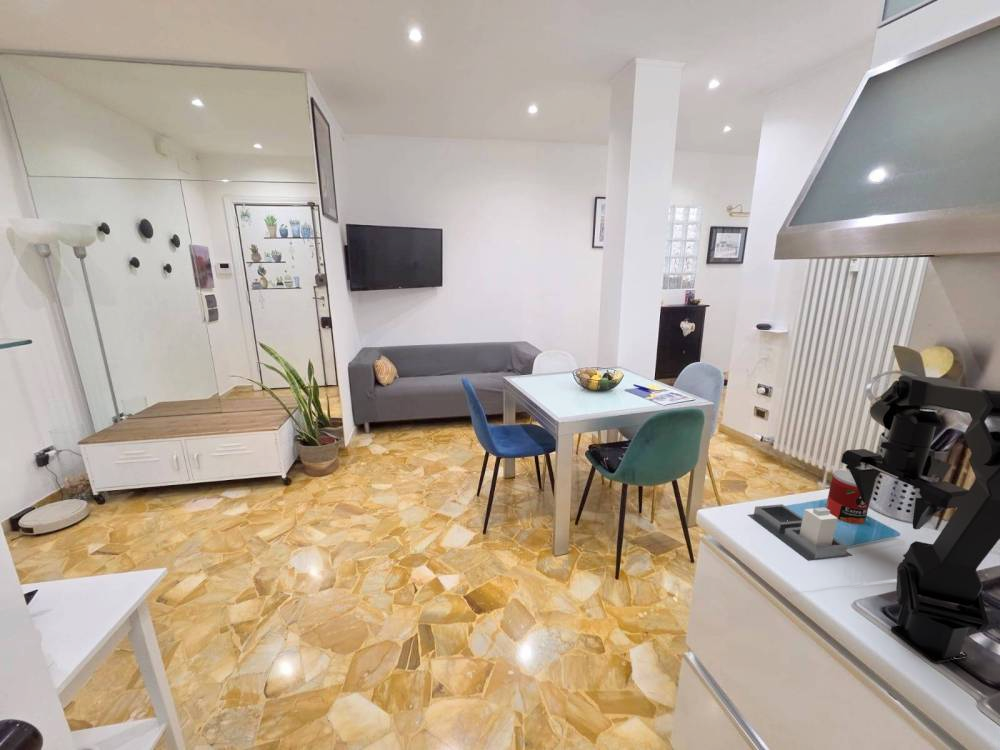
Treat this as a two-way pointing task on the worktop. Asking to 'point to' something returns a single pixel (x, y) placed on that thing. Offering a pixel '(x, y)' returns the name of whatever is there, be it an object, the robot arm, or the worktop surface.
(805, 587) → the worktop surface
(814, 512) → the plug
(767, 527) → the grey slotted tray
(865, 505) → the canned food
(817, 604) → the worktop surface
